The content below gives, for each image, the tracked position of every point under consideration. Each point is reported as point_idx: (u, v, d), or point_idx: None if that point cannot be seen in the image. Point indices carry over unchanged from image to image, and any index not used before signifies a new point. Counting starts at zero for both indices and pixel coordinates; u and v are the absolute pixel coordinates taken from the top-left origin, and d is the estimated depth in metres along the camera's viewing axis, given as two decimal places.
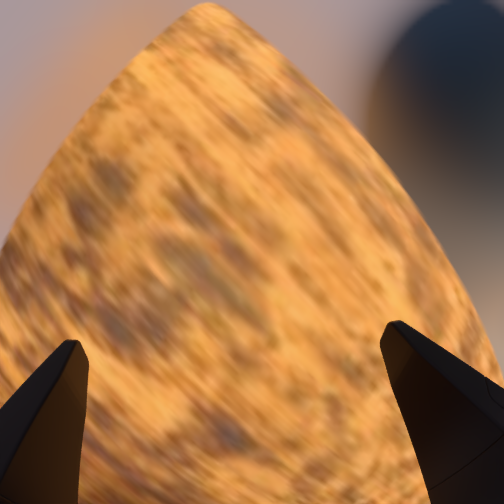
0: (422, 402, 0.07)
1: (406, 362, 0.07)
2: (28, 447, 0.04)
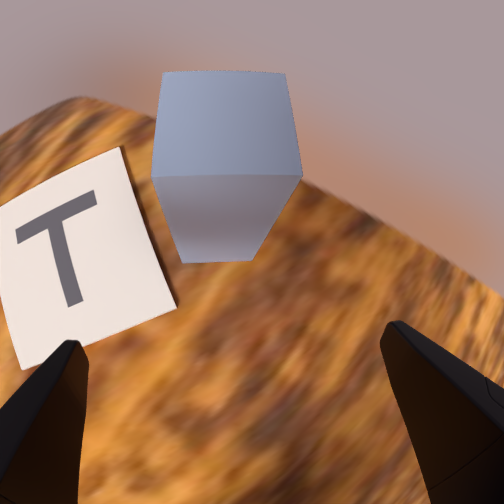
0: (422, 402, 0.07)
1: (406, 362, 0.07)
2: (27, 447, 0.04)
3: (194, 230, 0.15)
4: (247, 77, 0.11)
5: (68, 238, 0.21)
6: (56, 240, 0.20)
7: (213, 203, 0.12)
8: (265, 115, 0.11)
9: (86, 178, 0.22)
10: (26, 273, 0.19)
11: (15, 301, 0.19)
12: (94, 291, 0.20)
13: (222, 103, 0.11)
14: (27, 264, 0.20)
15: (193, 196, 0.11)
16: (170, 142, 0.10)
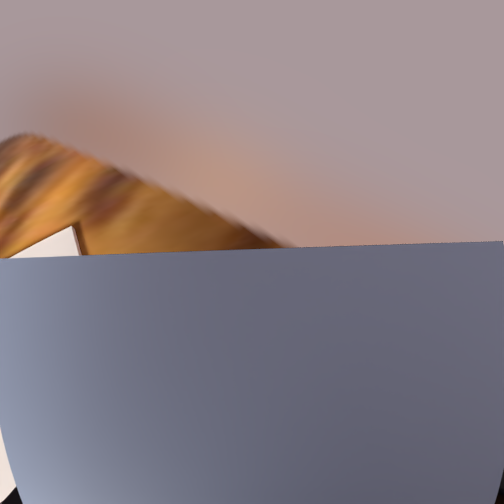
0: None
1: None
2: None
3: None
4: (403, 288, 0.02)
5: None
6: None
7: None
8: (446, 489, 0.02)
9: None
10: None
11: None
12: None
13: (294, 496, 0.02)
14: None
15: None
16: None
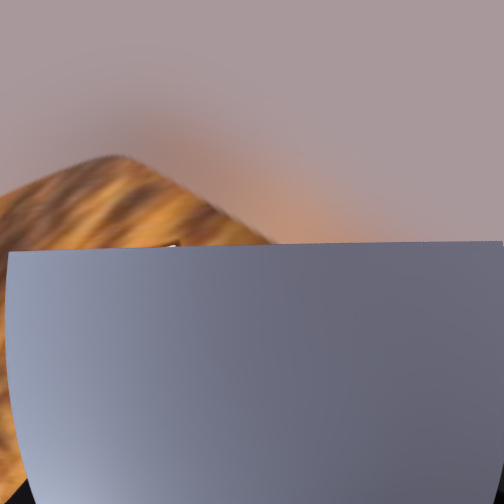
0: None
1: None
2: None
3: None
4: (408, 283, 0.02)
5: None
6: None
7: None
8: (448, 481, 0.02)
9: None
10: None
11: None
12: None
13: (306, 484, 0.02)
14: None
15: None
16: None
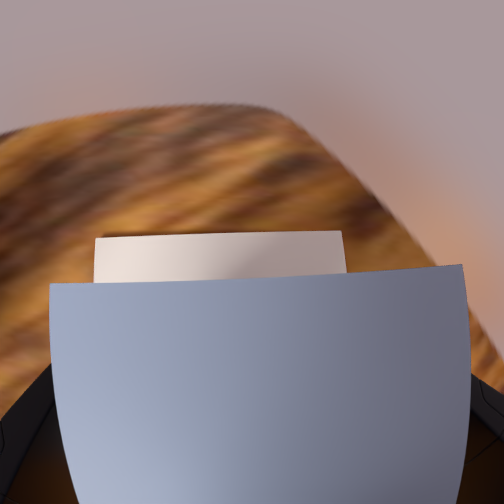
0: None
1: None
2: (37, 449, 0.04)
3: None
4: (369, 304, 0.03)
5: None
6: None
7: None
8: (411, 464, 0.03)
9: (289, 262, 0.17)
10: None
11: None
12: None
13: (288, 458, 0.03)
14: None
15: None
16: None
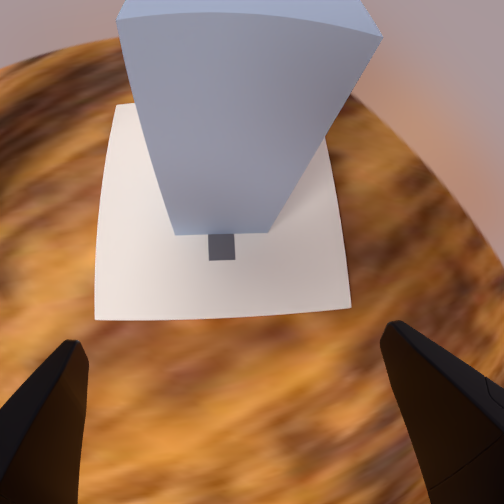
0: (422, 402, 0.07)
1: (406, 362, 0.07)
2: (28, 447, 0.04)
3: (190, 166, 0.09)
4: None
5: None
6: None
7: (224, 95, 0.06)
8: None
9: None
10: (154, 194, 0.17)
11: (123, 224, 0.16)
12: (255, 253, 0.17)
13: None
14: None
15: (189, 75, 0.06)
16: None
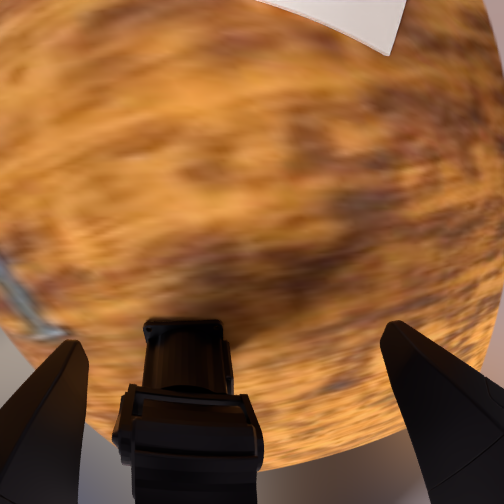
0: (422, 402, 0.07)
1: (406, 362, 0.07)
2: (28, 447, 0.04)
3: None
4: None
5: None
6: None
7: None
8: None
9: None
10: None
11: None
12: None
13: None
14: None
15: None
16: None
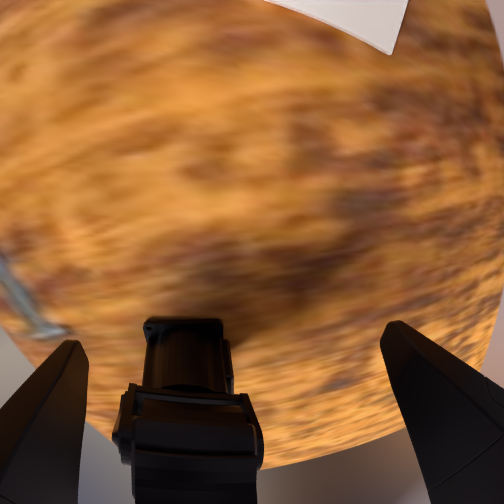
0: (422, 402, 0.07)
1: (406, 362, 0.07)
2: (28, 447, 0.04)
3: None
4: None
5: None
6: None
7: None
8: None
9: None
10: None
11: None
12: None
13: None
14: None
15: None
16: None
